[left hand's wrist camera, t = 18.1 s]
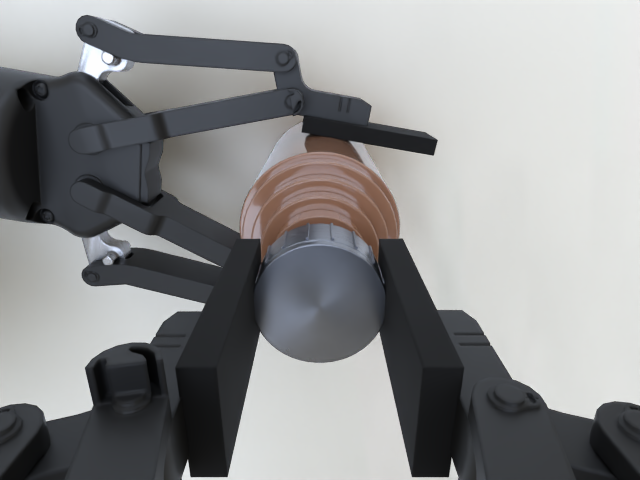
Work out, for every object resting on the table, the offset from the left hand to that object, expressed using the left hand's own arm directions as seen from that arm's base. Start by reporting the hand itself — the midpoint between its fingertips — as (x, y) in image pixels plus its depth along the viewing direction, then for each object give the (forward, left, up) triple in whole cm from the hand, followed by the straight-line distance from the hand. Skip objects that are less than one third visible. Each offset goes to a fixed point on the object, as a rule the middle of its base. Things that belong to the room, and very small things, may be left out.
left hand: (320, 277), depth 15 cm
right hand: (-4, -3, -10) cm, 11 cm away
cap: (0, 0, +2) cm, 2 cm away
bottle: (0, 0, -17) cm, 17 cm away
